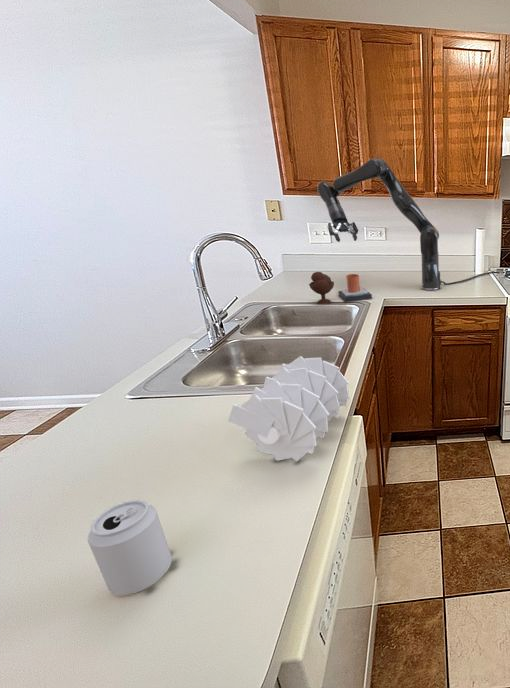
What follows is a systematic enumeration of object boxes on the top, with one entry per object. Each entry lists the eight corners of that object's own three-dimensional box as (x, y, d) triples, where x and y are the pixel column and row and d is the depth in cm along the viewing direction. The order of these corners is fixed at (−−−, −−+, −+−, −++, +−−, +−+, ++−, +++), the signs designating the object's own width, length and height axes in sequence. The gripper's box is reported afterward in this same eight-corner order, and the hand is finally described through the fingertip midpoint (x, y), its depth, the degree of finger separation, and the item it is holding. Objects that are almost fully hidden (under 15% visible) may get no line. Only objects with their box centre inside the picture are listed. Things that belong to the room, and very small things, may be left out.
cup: (358, 288, 203) (356, 273, 200) (361, 291, 199) (360, 276, 196) (346, 290, 200) (344, 274, 197) (349, 293, 196) (348, 277, 193)
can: (104, 578, 59) (77, 517, 55) (164, 545, 65) (144, 487, 61) (117, 610, 55) (90, 547, 51) (180, 572, 61) (160, 512, 56)
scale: (363, 292, 208) (363, 287, 207) (371, 298, 198) (371, 293, 197) (338, 295, 202) (338, 289, 201) (345, 302, 191) (344, 296, 190)
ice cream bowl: (328, 306, 184) (324, 274, 179) (306, 304, 186) (302, 273, 181) (340, 300, 194) (337, 270, 189) (319, 298, 196) (316, 268, 191)
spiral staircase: (341, 422, 105) (296, 486, 82) (278, 393, 103) (214, 451, 80) (366, 366, 100) (326, 418, 76) (301, 335, 98) (239, 378, 74)
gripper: (324, 210, 198) (334, 236, 193) (352, 209, 206) (362, 235, 202) (322, 220, 203) (332, 246, 199) (349, 219, 212) (359, 244, 207)
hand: (347, 240), depth 200 cm, fingers open, 8 cm apart
